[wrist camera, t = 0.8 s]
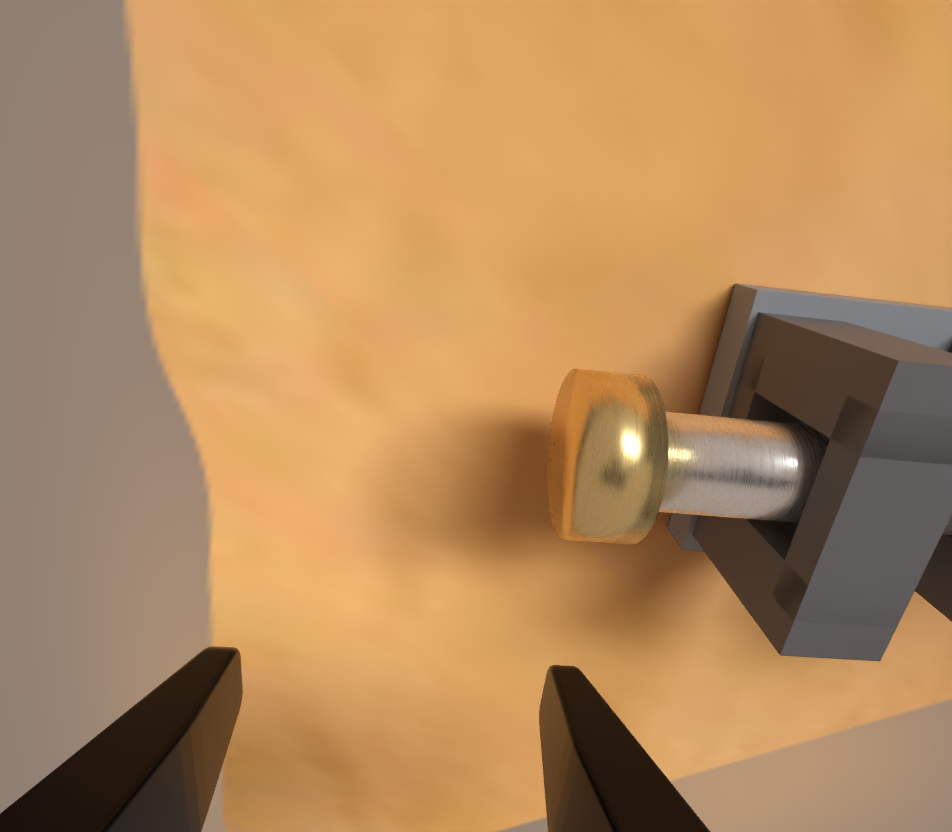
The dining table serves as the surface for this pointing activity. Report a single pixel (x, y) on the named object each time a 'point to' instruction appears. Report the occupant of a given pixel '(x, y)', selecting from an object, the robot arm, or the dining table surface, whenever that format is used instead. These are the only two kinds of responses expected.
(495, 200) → the dining table surface
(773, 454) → the shaft
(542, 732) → the robot arm
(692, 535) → the bearing bracket
